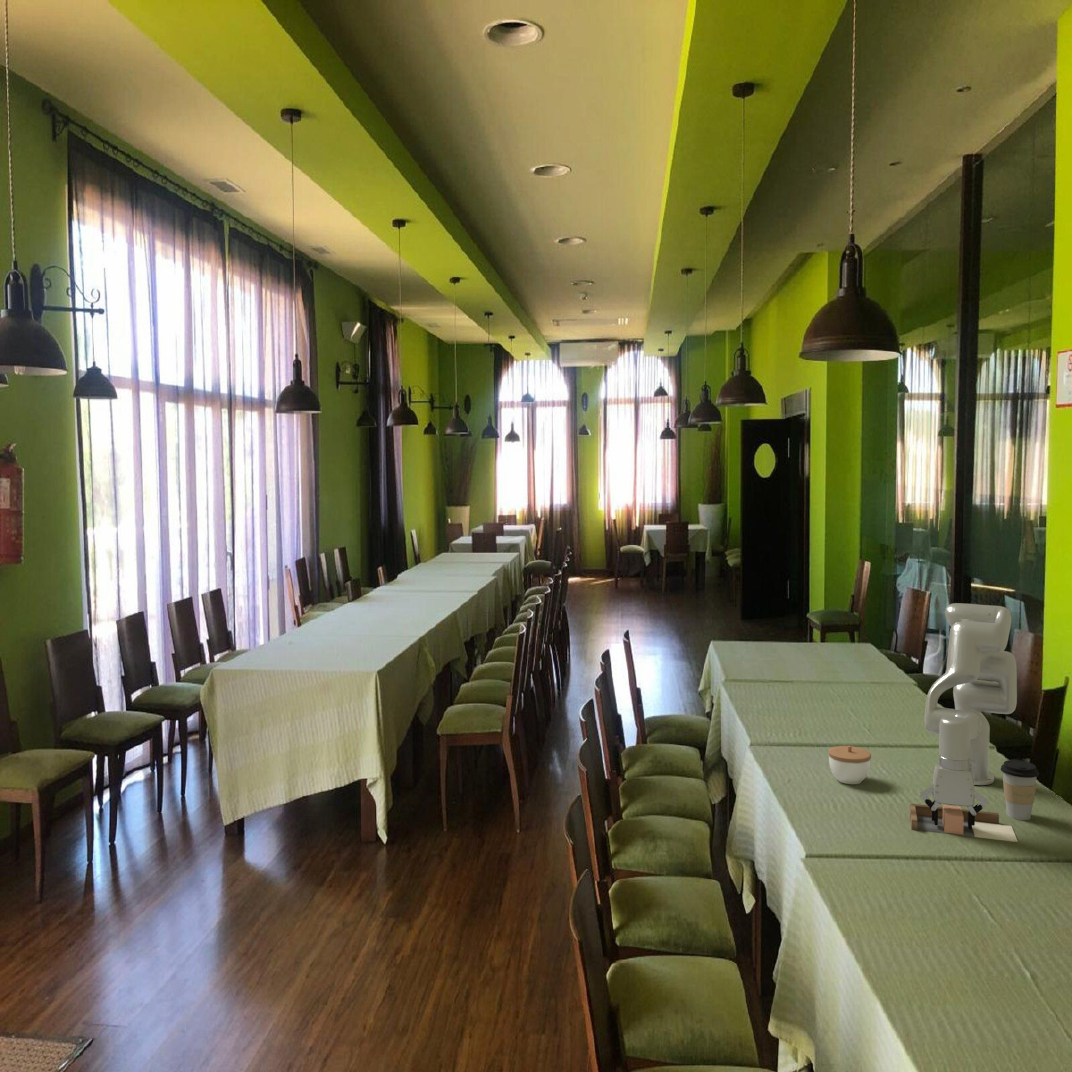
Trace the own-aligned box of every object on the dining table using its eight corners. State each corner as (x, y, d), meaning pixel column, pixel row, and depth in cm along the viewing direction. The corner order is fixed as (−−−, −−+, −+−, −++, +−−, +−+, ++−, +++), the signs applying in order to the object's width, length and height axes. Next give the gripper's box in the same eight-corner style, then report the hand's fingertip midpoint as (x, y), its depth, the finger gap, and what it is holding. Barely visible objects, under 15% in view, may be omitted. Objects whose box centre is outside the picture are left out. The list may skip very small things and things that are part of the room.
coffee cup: (1018, 825, 237) (1019, 772, 235) (991, 812, 246) (992, 761, 245) (1045, 821, 239) (1047, 768, 238) (1018, 808, 248) (1019, 757, 247)
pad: (970, 822, 239) (970, 821, 239) (1011, 826, 235) (1011, 825, 235) (974, 836, 229) (974, 835, 229) (1017, 842, 226) (1017, 841, 226)
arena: (909, 813, 246) (909, 803, 246) (1011, 825, 237) (1011, 814, 237) (911, 830, 235) (911, 819, 235) (1018, 843, 226) (1018, 832, 225)
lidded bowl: (874, 788, 265) (874, 753, 264) (831, 786, 268) (831, 751, 267) (866, 774, 277) (867, 740, 276) (825, 772, 280) (826, 739, 279)
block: (942, 822, 239) (942, 804, 239) (960, 824, 237) (960, 806, 237) (944, 832, 232) (945, 814, 232) (963, 834, 231) (963, 816, 230)
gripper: (988, 761, 234) (986, 824, 235) (918, 755, 240) (917, 816, 241) (992, 770, 227) (990, 835, 228) (919, 763, 233) (918, 826, 234)
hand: (952, 825), depth 235 cm, fingers open, 7 cm apart
